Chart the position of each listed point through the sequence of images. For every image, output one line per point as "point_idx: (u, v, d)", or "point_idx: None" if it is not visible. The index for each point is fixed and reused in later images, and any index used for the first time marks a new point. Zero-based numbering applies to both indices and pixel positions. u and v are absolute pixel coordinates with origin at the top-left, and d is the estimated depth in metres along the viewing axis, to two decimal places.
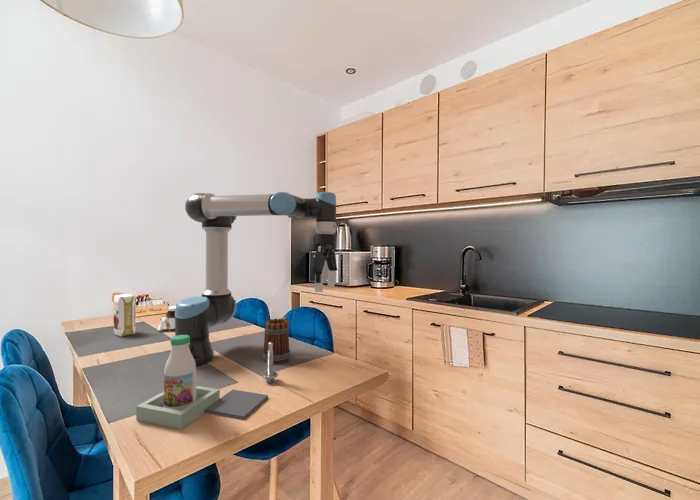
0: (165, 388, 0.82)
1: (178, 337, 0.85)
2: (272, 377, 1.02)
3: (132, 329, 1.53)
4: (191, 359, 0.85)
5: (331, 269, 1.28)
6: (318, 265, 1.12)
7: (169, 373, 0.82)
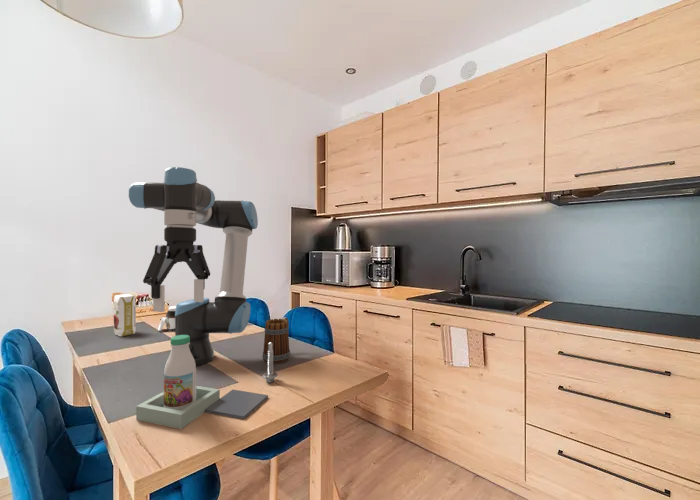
0: (165, 388, 0.82)
1: (178, 337, 0.85)
2: (272, 377, 1.02)
3: (132, 329, 1.53)
4: (191, 359, 0.85)
5: (199, 277, 0.92)
6: (152, 273, 0.76)
7: (169, 373, 0.82)
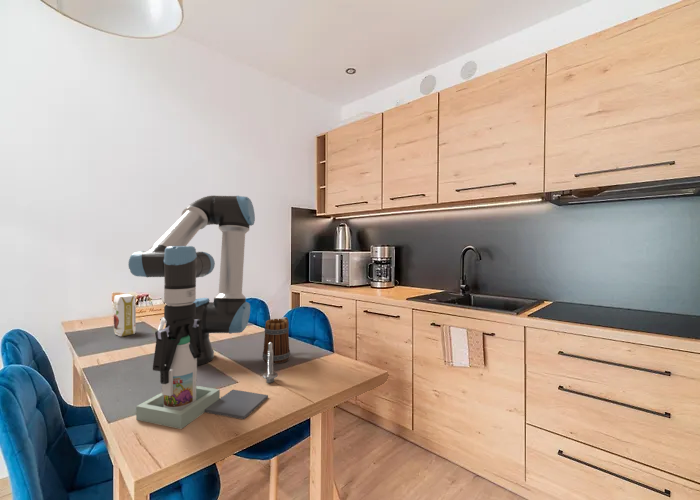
0: None
1: None
2: (272, 377, 1.02)
3: (132, 329, 1.53)
4: (191, 359, 0.85)
5: (192, 355, 0.90)
6: (159, 361, 0.78)
7: None
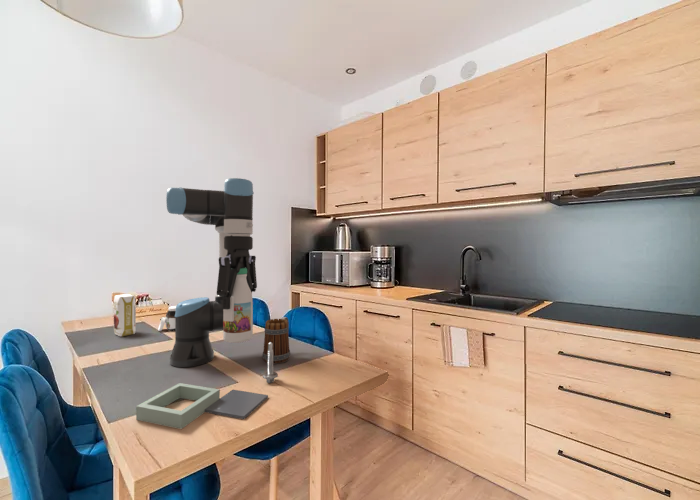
0: None
1: None
2: (272, 377, 1.02)
3: (132, 329, 1.53)
4: (249, 290, 0.88)
5: None
6: (223, 286, 0.81)
7: None
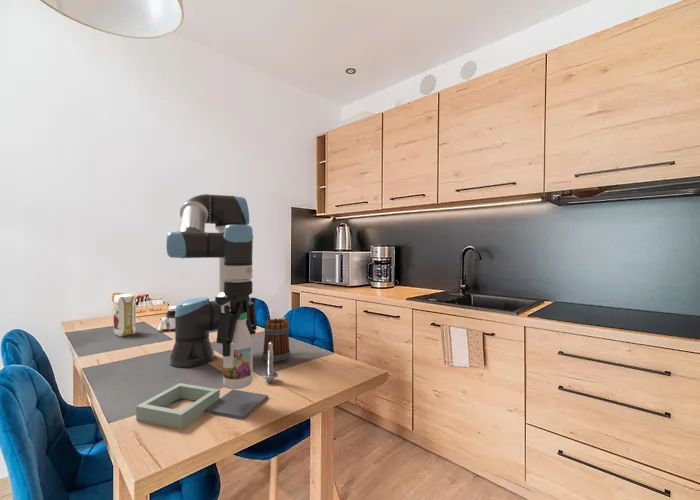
0: None
1: None
2: (272, 377, 1.02)
3: (132, 329, 1.53)
4: (249, 334, 0.88)
5: None
6: (223, 334, 0.81)
7: None
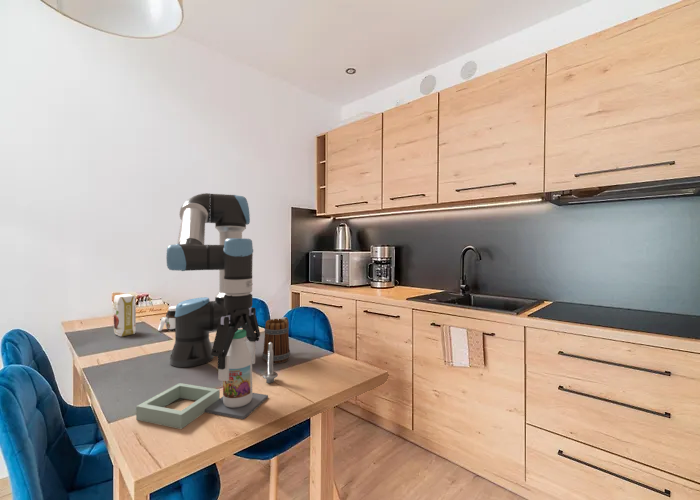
0: None
1: None
2: (272, 377, 1.02)
3: (132, 329, 1.53)
4: (248, 352, 0.88)
5: (251, 339, 0.95)
6: (219, 346, 0.80)
7: (229, 366, 0.85)
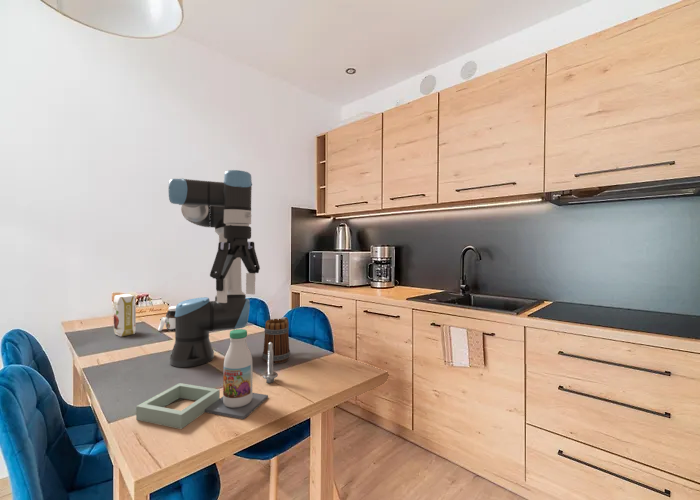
0: (226, 380, 0.86)
1: (237, 331, 0.88)
2: (272, 377, 1.02)
3: (132, 329, 1.53)
4: (249, 352, 0.89)
5: (251, 271, 0.99)
6: (218, 267, 0.83)
7: (229, 366, 0.85)
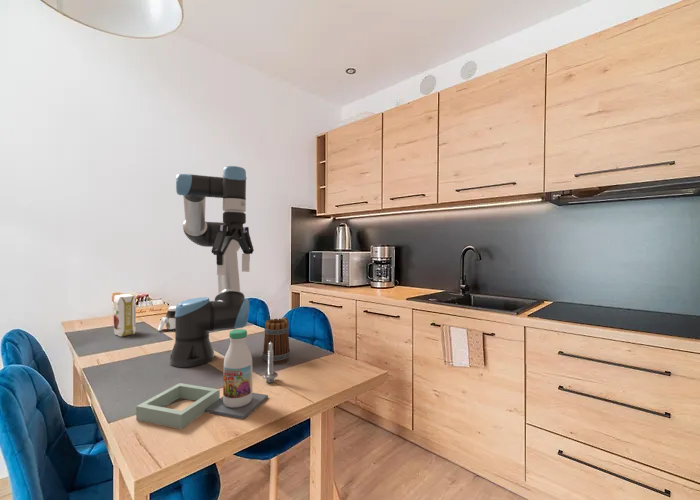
0: (225, 380, 0.86)
1: (236, 331, 0.88)
2: (272, 377, 1.02)
3: (132, 329, 1.53)
4: (249, 352, 0.89)
5: (246, 252, 1.17)
6: (218, 245, 1.01)
7: (229, 366, 0.85)
